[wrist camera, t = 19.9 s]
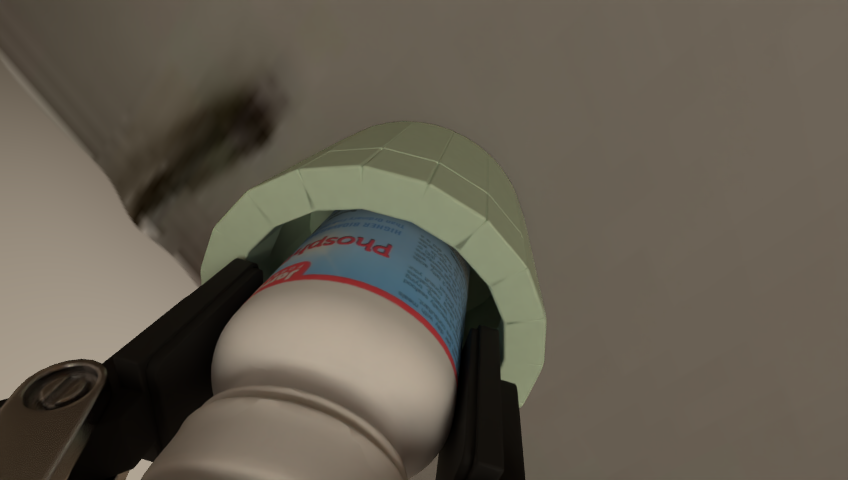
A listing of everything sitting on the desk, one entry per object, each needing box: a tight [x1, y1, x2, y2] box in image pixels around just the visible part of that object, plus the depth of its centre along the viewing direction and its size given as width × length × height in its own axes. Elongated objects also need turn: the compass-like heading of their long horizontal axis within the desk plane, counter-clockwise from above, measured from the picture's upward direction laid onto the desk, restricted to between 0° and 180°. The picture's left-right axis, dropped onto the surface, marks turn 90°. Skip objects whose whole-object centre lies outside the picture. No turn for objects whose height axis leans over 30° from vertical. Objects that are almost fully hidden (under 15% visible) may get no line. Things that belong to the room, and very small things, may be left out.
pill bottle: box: [141, 209, 471, 480], centre depth 11 cm, size 6×6×11 cm
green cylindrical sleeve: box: [200, 121, 547, 408], centre depth 14 cm, size 10×10×8 cm
